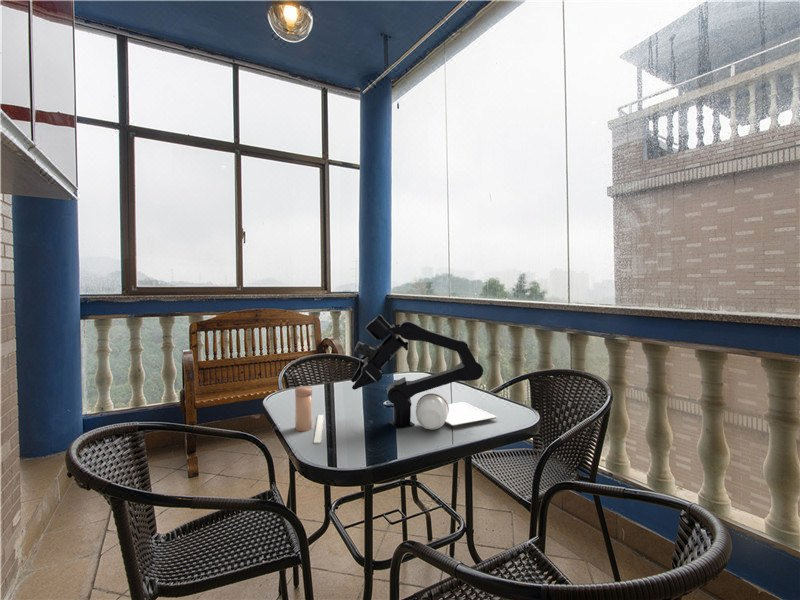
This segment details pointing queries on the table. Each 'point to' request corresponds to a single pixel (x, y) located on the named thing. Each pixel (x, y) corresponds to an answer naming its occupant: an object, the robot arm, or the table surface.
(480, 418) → the plate
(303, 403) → the tumbler
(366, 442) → the table surface
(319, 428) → the line
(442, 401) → the white rounded piece
